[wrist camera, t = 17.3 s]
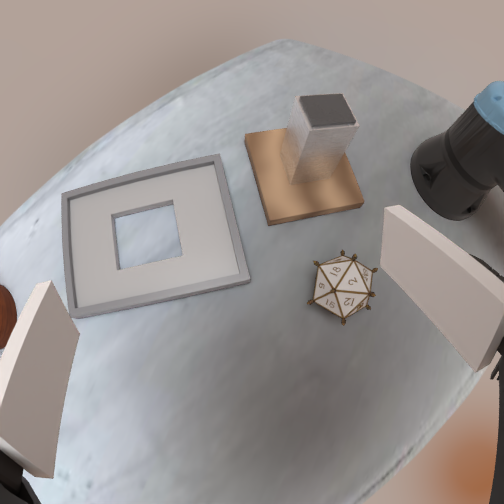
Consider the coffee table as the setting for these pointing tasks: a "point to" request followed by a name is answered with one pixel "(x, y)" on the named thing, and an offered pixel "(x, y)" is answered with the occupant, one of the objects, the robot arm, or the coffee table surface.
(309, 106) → the block
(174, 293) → the grey flat frame
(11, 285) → the coffee table surface
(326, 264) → the game die
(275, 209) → the board
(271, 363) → the coffee table surface
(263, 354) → the coffee table surface
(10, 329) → the music box
